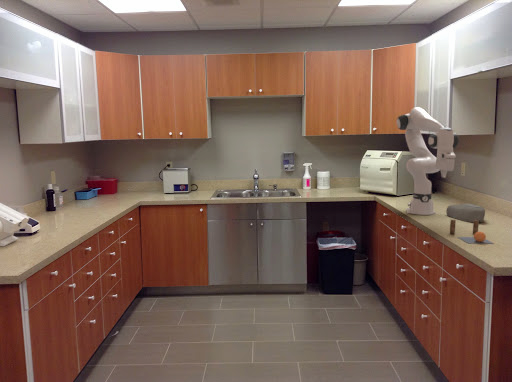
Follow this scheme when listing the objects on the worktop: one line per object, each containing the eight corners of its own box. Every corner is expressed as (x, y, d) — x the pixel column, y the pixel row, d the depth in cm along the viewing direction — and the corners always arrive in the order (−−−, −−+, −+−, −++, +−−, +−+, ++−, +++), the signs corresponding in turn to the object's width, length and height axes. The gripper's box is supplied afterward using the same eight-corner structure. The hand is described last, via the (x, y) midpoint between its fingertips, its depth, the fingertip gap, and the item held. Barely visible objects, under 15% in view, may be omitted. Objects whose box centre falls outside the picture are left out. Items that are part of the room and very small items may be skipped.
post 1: (448, 233, 247) (449, 219, 246) (453, 233, 247) (454, 219, 246) (450, 234, 245) (451, 220, 244) (455, 234, 245) (456, 220, 244)
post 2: (471, 233, 247) (472, 219, 246) (476, 233, 247) (477, 219, 246) (473, 234, 244) (474, 220, 243) (478, 234, 244) (479, 220, 243)
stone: (496, 210, 271) (463, 209, 272) (494, 226, 273) (461, 225, 274) (476, 201, 299) (446, 199, 300) (474, 215, 301) (444, 214, 302)
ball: (471, 234, 232) (475, 229, 228) (481, 235, 232) (485, 229, 228) (473, 243, 229) (477, 238, 225) (484, 244, 229) (488, 238, 224)
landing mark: (457, 237, 239) (457, 236, 239) (481, 237, 238) (481, 237, 238) (467, 243, 226) (467, 243, 226) (493, 243, 225) (493, 243, 225)
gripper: (433, 153, 276) (432, 175, 278) (446, 155, 256) (444, 179, 258) (443, 153, 276) (442, 175, 278) (457, 155, 256) (455, 179, 258)
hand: (443, 177), depth 268 cm, fingers closed
